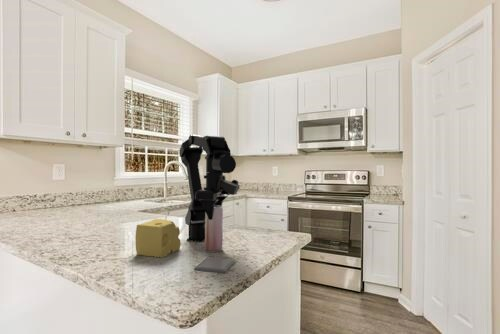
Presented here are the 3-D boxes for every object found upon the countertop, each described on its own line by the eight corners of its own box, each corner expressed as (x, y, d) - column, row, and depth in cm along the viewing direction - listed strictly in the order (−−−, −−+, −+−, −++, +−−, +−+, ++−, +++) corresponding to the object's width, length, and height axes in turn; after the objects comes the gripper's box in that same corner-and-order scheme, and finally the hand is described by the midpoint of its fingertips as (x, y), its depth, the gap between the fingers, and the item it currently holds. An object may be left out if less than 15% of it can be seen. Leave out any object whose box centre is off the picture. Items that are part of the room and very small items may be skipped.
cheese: (180, 249, 95) (180, 220, 95) (161, 259, 85) (161, 226, 85) (155, 246, 99) (155, 218, 99) (133, 255, 89) (134, 224, 89)
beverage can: (205, 247, 97) (206, 205, 97) (222, 247, 98) (223, 205, 98) (204, 252, 92) (204, 207, 92) (222, 252, 92) (222, 207, 92)
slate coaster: (194, 269, 76) (194, 267, 76) (207, 259, 85) (207, 257, 85) (225, 273, 74) (225, 270, 74) (234, 262, 83) (234, 259, 83)
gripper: (228, 173, 84) (227, 224, 84) (244, 172, 102) (243, 214, 102) (194, 172, 86) (193, 222, 86) (215, 172, 105) (215, 213, 105)
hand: (214, 217), depth 95 cm, fingers closed on beverage can, 6 cm apart
